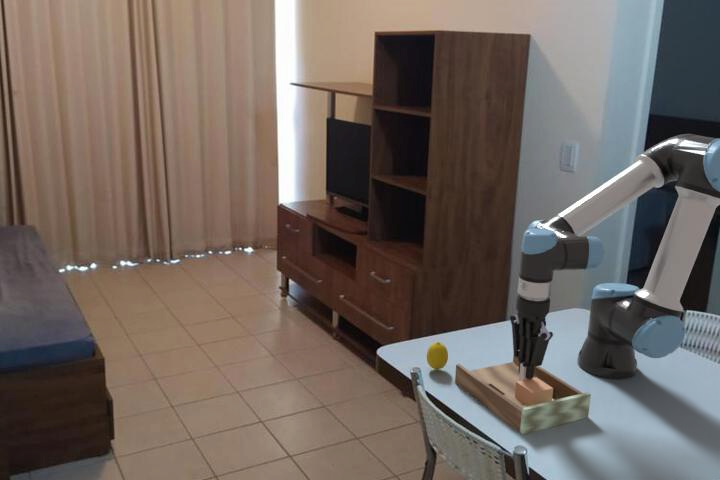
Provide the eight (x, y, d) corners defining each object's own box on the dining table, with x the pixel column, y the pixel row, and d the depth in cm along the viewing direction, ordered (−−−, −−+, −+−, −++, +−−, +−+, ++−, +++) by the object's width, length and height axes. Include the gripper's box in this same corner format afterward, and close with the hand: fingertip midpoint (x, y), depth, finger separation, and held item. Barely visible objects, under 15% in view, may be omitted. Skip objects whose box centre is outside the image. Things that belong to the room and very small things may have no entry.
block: (534, 392, 170) (536, 377, 169) (551, 403, 165) (553, 388, 164) (514, 397, 168) (516, 381, 167) (530, 408, 162) (532, 392, 161)
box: (515, 369, 188) (517, 349, 186) (588, 417, 164) (591, 393, 163) (454, 382, 180) (456, 361, 178) (522, 434, 156) (525, 410, 155)
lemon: (446, 376, 183) (448, 347, 181) (424, 373, 184) (426, 345, 182) (447, 366, 188) (449, 339, 186) (427, 364, 189) (428, 336, 187)
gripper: (503, 288, 167) (495, 379, 173) (539, 307, 156) (529, 403, 162) (528, 285, 170) (520, 374, 177) (565, 302, 159) (555, 397, 165)
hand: (524, 388), depth 169 cm, fingers closed
